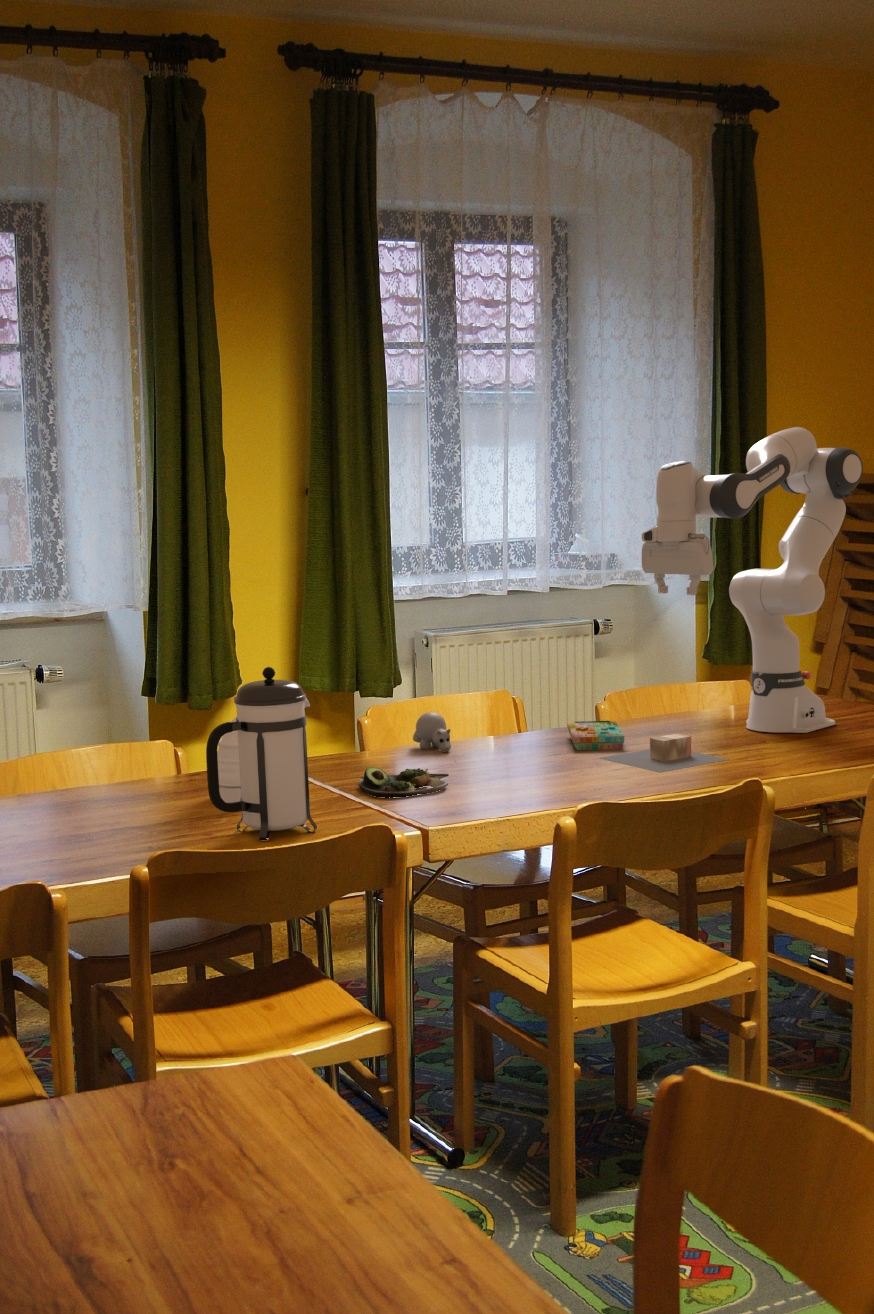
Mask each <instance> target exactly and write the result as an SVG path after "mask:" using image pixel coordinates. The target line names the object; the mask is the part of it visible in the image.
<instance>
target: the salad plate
mask: <svg viewBox="0 0 874 1314" xmlns="http://www.w3.org/2000/svg"><path fill="white" fill-rule="evenodd" d="M428 770H429V769H428V768H425V770H424V769H421V768H420V767H418V768H406V769H405V770H403V771H401V772H400V773H398V774H387V772H385V771H384V770H383V769H382V768H379V767H377V766H369V767H367V768H366V769H365V770H364V775H363V776H360V777H359V778H361V779H360V780H359V781H358V784H357V785H358V787H359V789H360V791H361V792H362V793H364V794H366V795H368V794H369V795H368V796H370V795H372V796H376V797H375V798H377V797H385V798H384V799H388V798H389V797H390V798H392V799H394V798H393V797H406V796H412V795H417V794H425V795H428V794H427V793H430V794H433V793H432V792H434V793H437V792H436V791H438V792H440V791H439V790H441V791H442V790H444V789H445V788H446V787H447V786H448V785H449V783H447V781H445V780H442V779H443V778H446V777H449V773H430V772H429V771H428ZM423 786H431V787H433V788H426V789H421V790H418V789H417V790H415V788H419V787H423ZM372 796H371V797H372ZM412 797H413V796H412ZM406 798H407V797H406Z"/></svg>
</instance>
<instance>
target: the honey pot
mask: <svg viewBox="0 0 874 1314" xmlns="http://www.w3.org/2000/svg"><path fill="white" fill-rule="evenodd" d="M236 718H237V715H236V716H235V717H234V718H233V719H232V720H230V722H236ZM217 758H218V776H219V791H220V796H221V798H222V799H223V801H224V802H227V803H233V802H239V801H241V800H240V798H241V782H240V764H239V745H238V730H237V731H232V732H229V733H226V734H224V735H223V736H222V737H221V739H220V740H219V743H218V748H217Z"/></svg>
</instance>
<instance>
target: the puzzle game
mask: <svg viewBox="0 0 874 1314" xmlns="http://www.w3.org/2000/svg"><path fill="white" fill-rule="evenodd" d="M566 724H567V725H566V729H567V731H568V733H569V736H570V739H571V741H572V744H573V746H574V747H575V750H576V751H597V750H599V751H600V750H620V749H621V748H622V746H624V743H625V735H624V732H623V731H622V730H621V728H620V726H619V725H618V723H617V721H616V720H584V721H582V720H581V721H568V722H566Z"/></svg>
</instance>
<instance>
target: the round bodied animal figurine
mask: <svg viewBox="0 0 874 1314" xmlns="http://www.w3.org/2000/svg"><path fill="white" fill-rule="evenodd" d="M446 723H447V722H446V721H445V719H444V717H443V716H442V715H441V714H439V713H437V712H435V711H433V712H432V711H430V712H425V713H422V715H420V716H419V717H418V719H417V721H416V724H415V731H414V733H413V735H412V740H413V741H414V742H415V743H419V747H420V749H421V750H424V751H425V750H426V751H427V750H429V749H430V748H431V746H432V747H433V748H436V749H439V750H440V752H443V753H448V752H449V751H450V750H451V749H452V744H451V735H450V733H451V730H452V729H451V728H449V729H447V724H446Z"/></svg>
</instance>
